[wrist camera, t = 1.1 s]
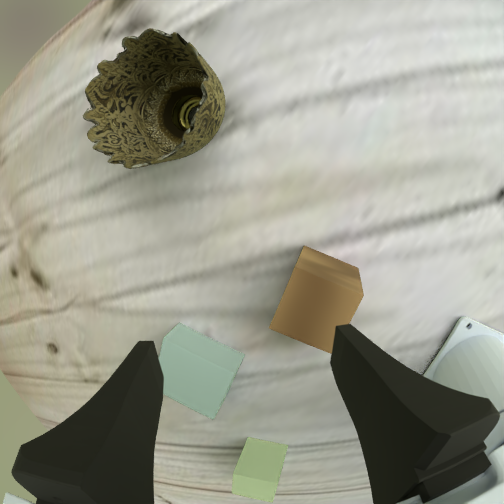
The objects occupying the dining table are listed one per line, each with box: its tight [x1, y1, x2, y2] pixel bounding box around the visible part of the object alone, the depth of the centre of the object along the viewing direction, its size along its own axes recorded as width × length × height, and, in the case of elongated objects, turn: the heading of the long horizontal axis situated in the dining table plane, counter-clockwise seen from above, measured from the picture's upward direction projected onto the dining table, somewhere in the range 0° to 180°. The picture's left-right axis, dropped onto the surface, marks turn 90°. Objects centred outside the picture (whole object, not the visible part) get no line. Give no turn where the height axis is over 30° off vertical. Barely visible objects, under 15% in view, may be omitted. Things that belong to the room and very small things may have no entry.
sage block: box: [232, 437, 288, 502], centre depth 25 cm, size 4×4×5 cm
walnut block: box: [269, 246, 364, 354], centre depth 19 cm, size 4×4×5 cm
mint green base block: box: [159, 322, 245, 420], centre depth 25 cm, size 6×6×3 cm
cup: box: [83, 29, 225, 169], centre depth 17 cm, size 8×7×8 cm
